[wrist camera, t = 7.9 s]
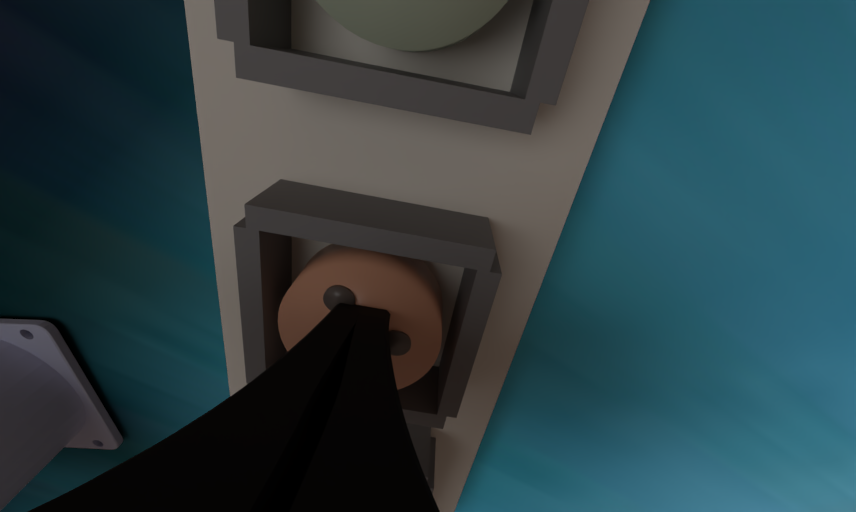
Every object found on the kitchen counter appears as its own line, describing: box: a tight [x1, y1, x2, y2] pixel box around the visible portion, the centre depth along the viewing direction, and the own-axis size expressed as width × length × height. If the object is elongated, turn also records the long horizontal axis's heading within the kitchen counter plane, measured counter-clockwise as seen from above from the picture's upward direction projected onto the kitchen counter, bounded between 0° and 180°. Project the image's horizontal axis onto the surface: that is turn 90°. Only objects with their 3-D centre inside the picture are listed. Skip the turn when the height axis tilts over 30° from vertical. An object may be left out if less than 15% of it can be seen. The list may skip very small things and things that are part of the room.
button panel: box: [184, 0, 650, 512], centre depth 12 cm, size 28×10×4 cm, turn 170°
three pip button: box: [278, 244, 443, 390], centre depth 10 cm, size 4×4×2 cm
